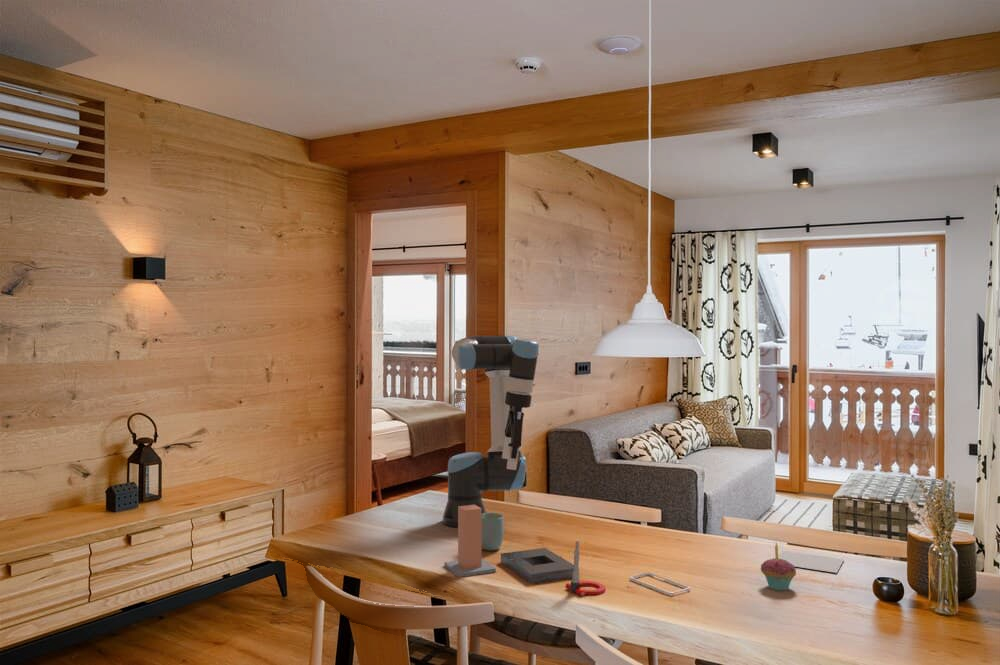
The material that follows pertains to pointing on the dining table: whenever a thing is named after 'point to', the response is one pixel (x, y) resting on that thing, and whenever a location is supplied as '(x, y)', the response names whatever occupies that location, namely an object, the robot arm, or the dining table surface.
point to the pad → (461, 572)
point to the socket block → (538, 565)
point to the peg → (469, 536)
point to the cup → (492, 531)
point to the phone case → (657, 587)
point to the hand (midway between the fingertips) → (508, 463)
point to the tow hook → (576, 583)
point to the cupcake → (778, 572)
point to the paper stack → (811, 561)
